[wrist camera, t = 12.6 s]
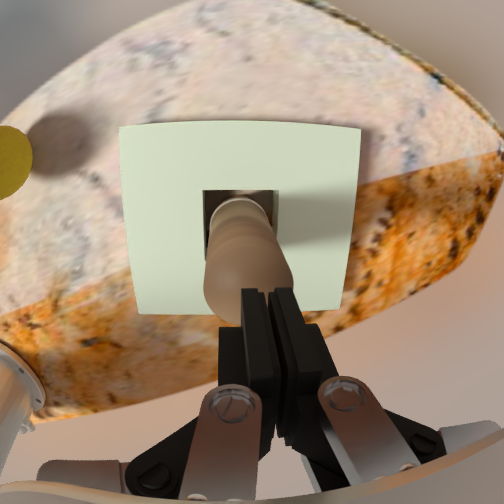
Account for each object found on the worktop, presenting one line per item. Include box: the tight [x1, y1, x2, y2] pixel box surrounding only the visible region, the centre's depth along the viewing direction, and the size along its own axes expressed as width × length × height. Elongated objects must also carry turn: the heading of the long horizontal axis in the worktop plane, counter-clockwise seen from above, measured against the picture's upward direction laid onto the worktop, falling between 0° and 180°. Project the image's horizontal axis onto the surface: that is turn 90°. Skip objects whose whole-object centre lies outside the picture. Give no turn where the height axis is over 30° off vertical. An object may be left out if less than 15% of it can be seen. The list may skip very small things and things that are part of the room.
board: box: [119, 120, 361, 315], centre depth 22 cm, size 14×16×2 cm
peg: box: [203, 195, 294, 325], centre depth 18 cm, size 4×4×11 cm
